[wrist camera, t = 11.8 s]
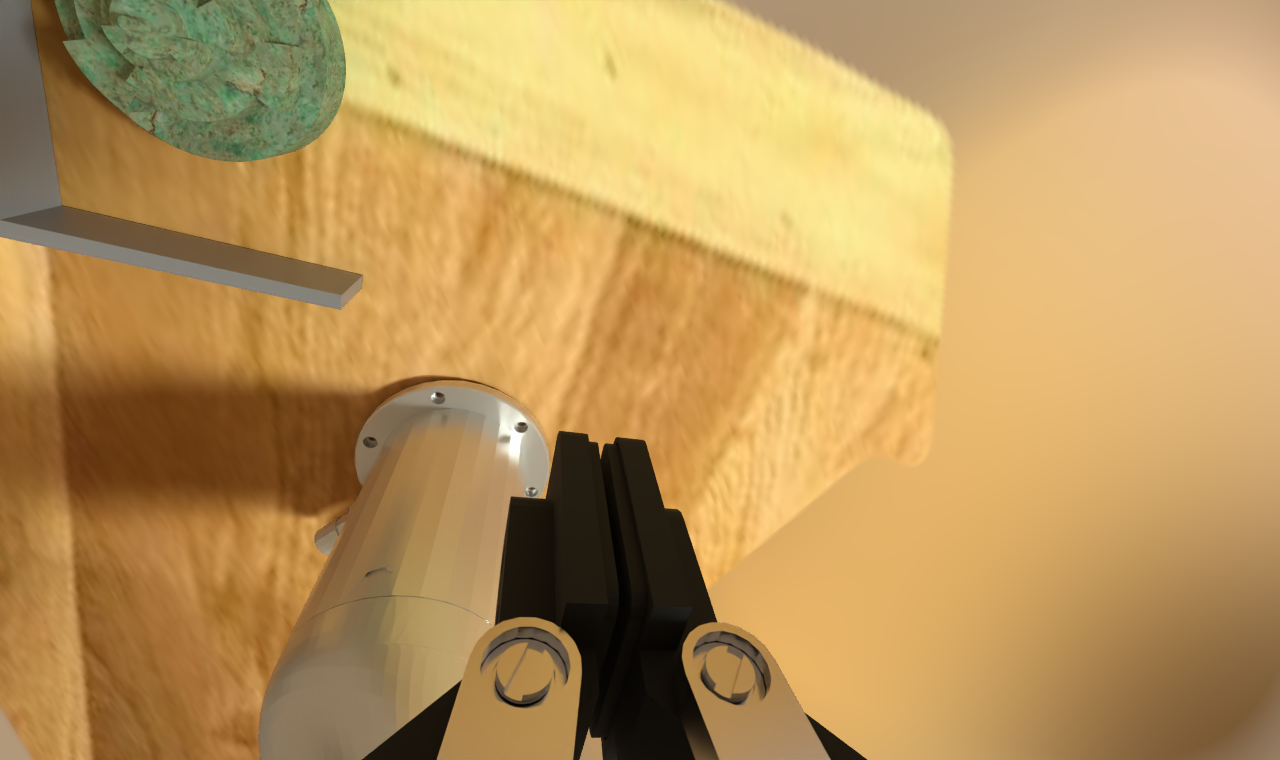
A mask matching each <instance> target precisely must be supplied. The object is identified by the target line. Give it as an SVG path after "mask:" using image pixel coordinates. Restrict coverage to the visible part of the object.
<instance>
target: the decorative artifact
mask: <svg viewBox="0 0 1280 760" xmlns="http://www.w3.org/2000/svg"><path fill="white" fill-rule="evenodd" d="M55 5H56V8H57V12H58V15H59V19H60V21H61V24H62V27H63V29H64V32H65V34H66V36H67V38H68V40H69V41H62V42H63V44H64V45H65V47H66V49H67V51H68V52H69V54H70V56H71V57H72V59H73V60H74V62H75V63H76V65H77V66H78V67H79V68H80V70H81V71H82V72H83V74H84V75H85V76H86V77H87V78H88V80H89V81H90V82H91V83H92V84H93V85H94V86H95V87H96V88H97V89H98V90H99V91H100V92H101V93H102V94H103V95H104V96H105V97H106V98H107V99H108V100H109V101H110V102H112V103H113V104H114V105H115V106H116V107H118V108H119V109H120V110H121V111H122V112H123V113H124V114H126V115H127V116H128V117H129V118H130V119H131V120H133V121H134V122H135V123H137V124H138V125H139V126H141V127H142V128H143V129H145V130H146V131H148V132H149V133H151V134H152V135H154V136H156V137H158V138H159V139H161V140H163V141H165V142H166V143H168V144H170V145H173V146H175V147H177V148H179V149H181V150H184V151H186V152H189V153H192V154H195V155H198V156H201V157H205V158H210V159H214V160H221V161H231V162H244V161H254V160H260V159H265V158H269V157H274V156H278V155H283V154H286V153H290V152H293V151H296V150H298V149H301V148H303V147H305V146H306V145H308V144H310V143H311V142H313V141H314V140H315V139H317V138H318V137H319V136H320V135H321V134H322V133H323V132H324V131H325V130H326V129H327V127H328V126H329V125H330V123H331V122H332V120H333V119H334V117H335V115H336V113H337V111H338V109H339V106H340V103H341V100H342V97H343V92H344V88H345V78H346V63H345V53H344V47H343V41H342V38H341V34H340V30H339V27H338V24H337V21H336V18H335V16H334V14H333V11H332V9H331V7H330V5H329V3H328V1H327V0H55Z"/></svg>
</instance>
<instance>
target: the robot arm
mask: <svg viewBox="0 0 1280 760" xmlns="http://www.w3.org/2000/svg"><path fill="white" fill-rule="evenodd" d="M437 392H440V393H442V394H439V393H437ZM521 422H523V423H521ZM354 464H355V468H356V473H357V477H358V480H359V482H360V484H361V486H362V489H361V491H360V493H359V495H358V497H357V499H356V501H355V502H354V503H352V505H351V506H350V507H349V511H348V513H347V514H346V515H344V516H341V517H339V518H337V519H335V520H334V521H332V522H330V523H329V524H327V525H326V526H324V527H323V528H321V529H319V530H318V531H317V532H316V534H315V544H316V546H317V548H318V549H319V550H320V551H321V552H322V553H324V554H327V555H329V557H328V559H327V561H326V563H325V565H324V567H323V569H322V571H321V573H320V575H319V577H318V579H317V581H316V583H315V585H314V587H313V590H312V592H311V594H310V596H309V598H308V600H307V602H306V604H305V606H304V608H303V610H302V612H301V614H300V616H299V618H298V620H297V622H296V624H295V627H294V629H293V631H292V633H291V635H290V637H289V639H288V641H287V643H286V645H285V647H284V649H283V652H282V654H281V656H280V658H279V660H278V662H277V664H276V666H275V668H274V671H273V673H272V675H271V678H270V680H269V682H268V685H267V688H266V691H265V695H264V698H263V703H262V707H261V712H260V721H259V734H258V745H259V754H260V760H579V759H580V756H581V752H582V749H583V746H584V742H585V739H586V735H587V732H588V729H590V735H591V737H592V738H600V737H601V741H602V754H603V760H867V759H866V758H864V757H863V756H862V755H860V754H859V753H858V752H856V751H855V750H854V749H852V748H851V747H849V746H848V745H847V744H846V743H844V742H843V741H842V740H840V739H839V738H838V737H836V736H835V735H834V734H832V733H831V732H829V731H828V730H827V729H826V728H824V727H823V726H822V725H820V724H819V723H818V722H816V721H815V720H814V719H812V718H811V717H810V716H808V715H807V714H806V713H804V711H803V709H802V708H801V705H800V704H799V702H798V700H797V698H796V696H795V695H794V693H793V691H792V689H791V688H790V686H789V684H788V682H787V680H786V678H785V677H784V675H783V673H782V671H781V669H780V668H779V666H778V664H777V662H776V661H775V659H774V658H773V656H772V655H771V653H770V652H769V651H768V649H767V648H766V647H765V645H764V644H762V643H761V642H760V641H759V640H758V639H757V638H756V637H755V636H753V635H752V634H750V633H749V632H747V631H745V630H743V629H742V628H740V627H737V626H734V625H730V624H727V623H717V620H716V617H715V614H714V611H713V607H712V605H711V601H710V598H709V595H708V592H707V589H706V586H705V583H704V580H703V577H702V574H701V571H700V567H699V564H698V561H697V558H696V555H695V552H694V549H693V546H692V543H691V540H690V537H689V534H688V531H687V528H686V524H685V521H684V518H683V516H682V514H681V512H680V511H679V510H678V509H666V508H664V505H663V501H662V498H661V494H660V491H659V487H658V484H657V480H656V477H655V473H654V470H653V466H652V463H651V459H650V456H649V452H648V449H647V445H646V443H645V441H644V440H638V439H629V438H620V437H617V438H616V439H615V441H614V444H607V443H606V444H605V445H604V447H603V451H602V455H601V460H600V454H599V447H598V443H597V442H589V438H588V434H583V433H574V432H565V431H559V433H558V436H557V441H556V446H555V452H554V457H553V462H552V468H551V473H550V478H549V484H548V489H547V495H546V499H539V498H540V497H541V495H542V493H543V492H544V489H545V486H546V483H547V481H548V476H549V467H550V458H549V448H548V444H547V440H546V437H545V435H544V433H543V431H542V429H541V427H540V425H539V423H538V422H537V421H536V419H535V418H534V417H533V416H532V415H531V413H530V412H529V411H528V410H527V409H526V408H524V407H523V406H522V405H521V404H520V403H518V402H517V401H516V400H515V399H513V398H511V397H509V396H508V395H506V394H504V393H502V392H501V391H498V390H496V389H493V388H490V387H488V386H485V385H482V384H477V383H472V382H467V381H457V380H439V381H432V382H424V383H421V384H418V385H414V386H411V387H408V388H405V389H403V390H401V391H399V392H398V393H396V394H394V395H392V396H390V397H389V398H387V399H386V400H385V401H384V402H383V403H381V404H380V405H379V406H378V407H377V408H376V409H375V410H374V411H373V413H372V414H371V415H370V417H369V418H368V419H367V421H366V422H365V424H364V426H363V428H362V430H361V432H360V433H359V436H358V440H357V443H356V447H355V462H354Z"/></svg>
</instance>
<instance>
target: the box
mask: <svg viewBox="0 0 1280 760" xmlns="http://www.w3.org/2000/svg"><path fill="white" fill-rule="evenodd" d="M0 237H3V238H8V239H12V240H17V241H22V242H26V243H31V244H36V245H40V246H45V247H50V248H54V249H59V250H64V251H69V252H73V253H78V254H83V255H87V256H92V257H97V258H101V259H106V260H111V261H115V262H120V263H125V264H129V265H134V266H139V267H143V268H148V269H153V270H157V271H162V272H167V273H171V274H176V275H181V276H185V277H190V278H195V279H199V280H204V281H209V282H213V283H218V284H223V285H227V286H232V287H237V288H241V289H246V290H251V291H255V292H260V293H265V294H269V295H274V296H279V297H283V298H288V299H293V300H297V301H302V302H307V303H311V304H316V305H321V306H325V307H330V308H335V309H339V310H341V309H342V308H343V307H344V306H345V305H346V304H347V303H348V302H349V301H350V300H351V299H352V298H353V297H354V296H355V295H356V294H357V293H358V291H359V290H360V289H361V288H362V279H363V275H360V274H355V273H351V272H347V271H342V270H338V269H334V268H329V267H325V266H321V265H317V264H312V263H308V262H304V261H299V260H295V259H291V258H286V257H282V256H278V255H273V254H269V253H265V252H260V251H256V250H252V249H248V248H243V247H239V246H235V245H230V244H226V243H222V242H217V241H213V240H209V239H204V238H200V237H196V236H191V235H187V234H183V233H178V232H174V231H170V230H166V229H161V228H157V227H153V226H148V225H144V224H140V223H135V222H131V221H127V220H122V219H118V218H114V217H109V216H105V215H101V214H96V213H92V212H88V211H84V210H79V209H75V208H71V207H66V206H62V203H61V196H60V190H59V183H58V177H57V170H56V164H55V157H54V151H53V144H52V138H51V132H50V125H49V119H48V112H47V106H46V99H45V93H44V86H43V80H42V73H41V67H40V60H39V54H38V47H37V41H36V34H35V28H34V21H33V15H32V8H31V2H30V0H0Z"/></svg>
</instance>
